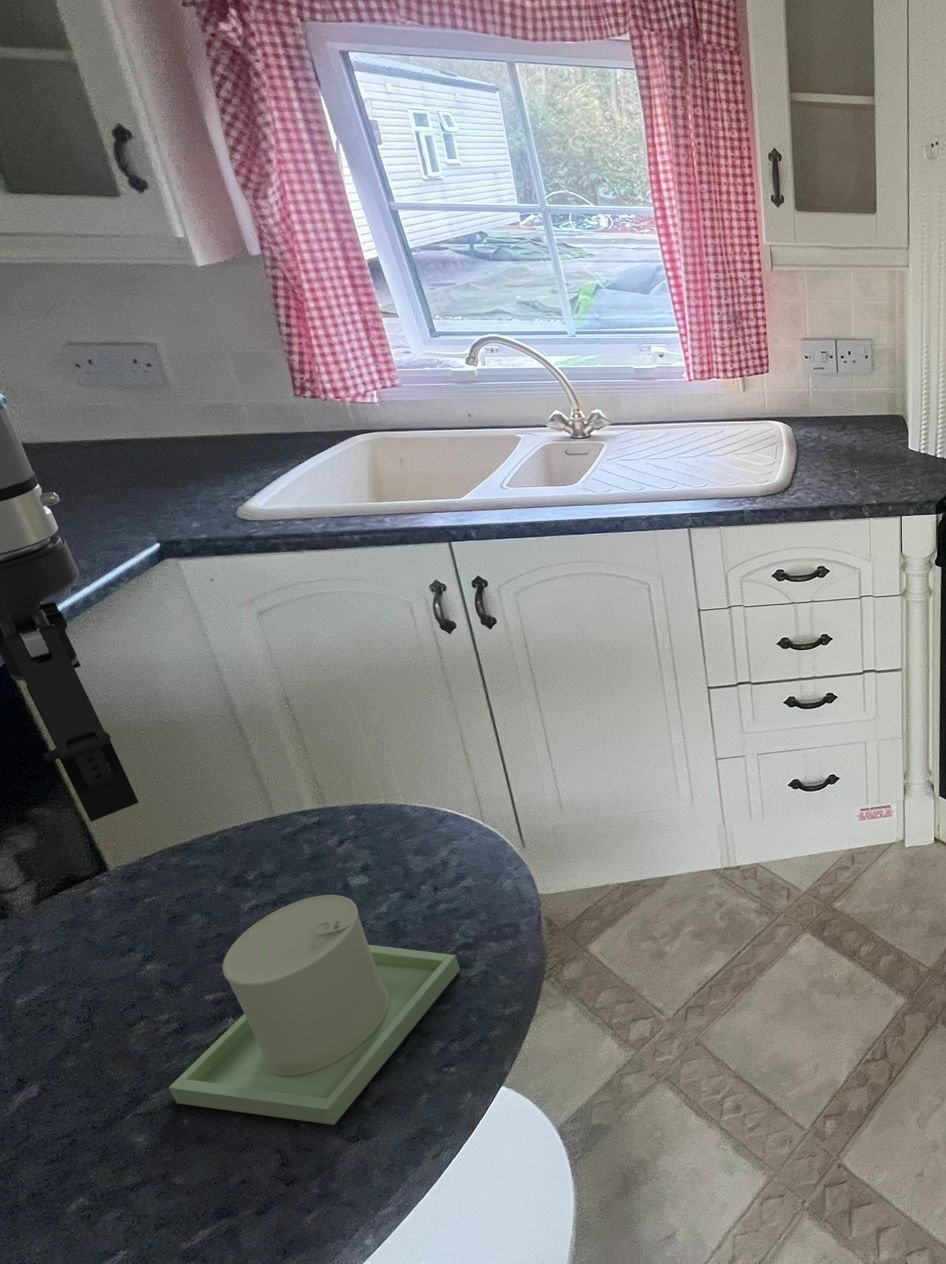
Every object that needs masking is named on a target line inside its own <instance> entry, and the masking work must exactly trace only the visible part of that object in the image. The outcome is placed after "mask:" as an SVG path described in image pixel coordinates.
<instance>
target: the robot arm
mask: <svg viewBox="0 0 946 1264" xmlns="http://www.w3.org/2000/svg"><path fill="white" fill-rule="evenodd" d="M42 491H43V489H42V487H41V486H40V484H39V480H38V478H37V475H36V472H35V471H34V470H33V469H32V466H31V463H30V462H29V459H28V456H27V454H26V452H25V449H24V446H23V445H22V442H21V440H20V437H19V434H18V432H17V429H16V426H15V423H14V421H13V418H12V415H11V412H10V410H9V407H8V398H7V396H6V395H5V393H4V392H3V391H2V390H1V389H0V656H1V659H2V660H3V662H4V664H5V667H6V669H7V671H8V673H9V675H10V676H11V678H12V679H13V680H15V681H20V682H25V684H26V685H25V688H26V689H27V691H28V694H29V696H30V697H31V700H32V702H33V704H34V705H35V708H36V710H37V712H38V714H39V716H40V719H41V720H42V722H43V724H44V726H45V728H46V730H47V732H48V734H49V736H50V738H51V740H52V742H53V744H54V748H53V749H52V750H50V751H47V752H44V753H42V755H43V757H44V759H45V761H46V763H51V762H54V761H56V760H58V759H59V762H60V763H61V765H62V768H63V769H64V771H65V773H66V775H67V777H68V779H69V781H70V783H71V785H72V787H73V789H74V791H75V793H76V795H77V797H78V800H79V801H80V803H81V806H82V807H83V810H84V811H85V813H86V816H87V818H88V820H89V821H90V823H92V822H94V821H97V820H99V819H101V818H104V817H106V816H109V815H111V814H114V813H116V812H119V811H121V810H124V809H127V808H129V807H132V806H134V805H137V804H138V803H140V802H139V800H138V797H137V795H136V793H135V791H134V789H133V787H132V785H131V783H130V781H129V778H128V776H127V774H126V771H125V768H124V767H123V765H122V763H121V760H120V758H119V756H118V754H117V752H116V749H115V748H114V746H113V743H112V741H111V739H112V738H111V735H110V733H109V732H107V730H105V729H104V727H103V725H102V723H101V721H100V719H99V716H98V715H97V713H96V711H95V708H94V706H93V704H92V702H91V700H90V698H89V696H88V694H87V692H86V690H85V688H84V686H83V683H82V681H81V680H80V678H79V677H80V676H79V675H78V673H77V671H76V668H80V667H82V665H81V664H80V661H79V658H78V655H77V652H76V651H75V648H74V646H73V644H72V643H71V640H70V638H69V636H68V633H69V631H70V630H69V627H68V623H67V621H66V619H65V617H64V615H63V613H62V612H61V610H59V608H58V605H57V603H56V602H55V600H53V601H49V602H44V603H42V602H43V601H44V600H45V599H48V598H49V597H51V596H53V595H58V594H60V593H63V592H64V591H65V590H67V589H69V588H70V587H72V586H73V585H74V584H75V583H77V581H78V579H79V578H80V577H79V576H80V570H79V569H78V566H77V564H76V562H75V559H74V557H73V554H72V553H71V550H70V548H69V546H68V544H67V541H66V539H65V538H64V537H62V536H59V535H57V534H55V533H56V532H57V531H58V530H59V526H58V524H57V521H56V519H55V517H54V513H53V512H52V510H51V509H50V508H49V506H53V505H56V504H58V503H59V502H60V497H59V495H58V494H57V493H55V492H54V491H47V492H42Z"/></svg>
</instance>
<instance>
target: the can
mask: <svg viewBox="0 0 946 1264" xmlns="http://www.w3.org/2000/svg"><path fill="white" fill-rule="evenodd" d="M369 945H370V944H369V943H368V940H367V937H366V934H365V930H364V928H363V925H362V922H361V918H360V916H359V909H358V906H357V905H356V904H355V902H354V901H353V900H352V899H350V898H349V897H346V896H342V895H338V894H324V895H323V894H322V895H316V896H312V897H307V898H304V899H301V900H298V901H295V902H292V903H290V904H287V905H285V906H283V907H281V908H278V909H277V910H274V911H273V912H271V913H269V914H268V915H266V916H264V917H263V918H261V919H259V920H258V921H256V923H254V924H253V925H251V926H250V927H249V928H248V929H246V930H245V931H244V932H243V933H242V934H241V935H240V936H239V937H238V938H236V940H235V941H234V942H233V944H232V945H231V946H230V948H229V949H228V950H227V953H226V955H225V957H224V958H223V962H222V974H223V976H224V978H225V979H226V980H227V982H228V983H229V985H230V988H231V990H232V991H233V993H234V996H235V997H236V1000H237V1001H238V1003H239V1006H240V1008H241V1010H242V1012H243V1014H245V1016H246V1018H247V1021H248V1023H249V1025H250V1027H251V1029H252V1032H253V1034H254V1036H255V1038H256V1041H257V1043H258V1045H259V1048H260V1050H261V1053H262V1060H263V1063H264V1065H265V1067H266V1068H267V1069H268V1070H269V1071H270V1072H272V1073H274V1074H277V1075H280V1076H299V1075H304V1074H308V1073H312V1072H315V1071H317V1070H320V1069H323V1068H325V1067H327V1066H329V1065H331V1064H333V1063H335V1062H337V1061H339V1060H340V1059H342V1058H344V1057H345V1056H347V1055H348V1054H350V1053H351V1052H353V1051H354V1050H355V1049H356V1048H358V1047H359V1046H360V1045H361V1044H362V1043H364V1042H365V1041H366V1040H367V1039H368V1038H369V1037H370V1036H371V1035H372V1034H373V1032H374V1031H375V1030H376V1029H377V1027H378V1026H379V1025H380V1023H381V1022H382V1020H383V1018H384V1017H385V1015H386V1012H387V1009H388V1006H389V993H388V990H387V989H386V987H385V986H384V985H383V983H382V980H381V978H380V975H379V973H378V970H377V968H376V965H375V962H374V959H373V956H372V954H371V951H370V948H369Z"/></svg>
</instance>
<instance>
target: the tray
mask: <svg viewBox="0 0 946 1264" xmlns="http://www.w3.org/2000/svg"><path fill="white" fill-rule="evenodd" d="M368 945H369V948H370V951H371V954H372V956H373V959H374V962H375V965H376V968H377V970H378V973H379V975H380V978H381V980H382V983H383V985H384V986H385V987H386V989H387V990H388V993H389V1006H388V1009H387V1012H386V1015H385V1017H384V1018H383V1020H382V1022H381V1023H380V1025H379V1026H378V1027H377V1029H376V1030H375V1031H374V1032H373V1034H372V1035H371V1036H370V1037H369V1038H368V1039H367V1040H366V1041H365V1042H364V1043H362V1044H361V1045H360V1046H359V1047H358V1048H356V1049H355V1050H354V1051H353V1052H351V1053H350V1054H348V1055H347V1056H345V1057H344V1058H342V1059H340V1060H339V1061H337V1062H335V1063H333V1064H331V1065H329V1066H327V1067H325V1068H323V1069H320V1070H317V1071H315V1072H312V1073H308V1074H304V1075H299V1076H280V1075H277V1074H274V1073H272V1072H270V1071H269V1070H268V1069H267V1068H266V1067H265V1065H264V1063H263V1060H262V1053H261V1050H260V1048H259V1045H258V1043H257V1041H256V1038H255V1036H254V1034H253V1032H252V1029H251V1027H250V1025H249V1023H248V1021H247V1018H246V1016H245V1014H244V1013H243V1014H242V1015H241V1016H240V1017H239V1018H238V1019H237V1020H236V1021H235V1022H234V1023H233V1024H232V1025H231V1026H230V1027H228V1029H227V1030H226V1031H225V1032H223V1034H222V1035H221V1036H219V1038H218V1039H217V1040H216V1041H214V1043H213V1044H211V1045H210V1046H209V1047H208V1048H207V1049H206V1050H205V1051H204V1052H203V1053H202V1054H201V1055H200V1056H199V1057H198V1058H197V1059H196V1060H195V1061H194V1062H193V1063H192V1064H191V1065H190V1066H189V1067H188V1068H187V1069H186V1070H185V1071H184V1072H183V1073H182V1074H180V1075H179V1076H178V1078H176V1080H175V1081H173V1082H172V1083H171V1084H170V1085H169V1087H168V1090H169V1092H170V1093H171V1096H172V1098H173V1099H174V1101H175V1103H176V1104H179V1105H186V1106H194V1107H201V1108H208V1109H215V1110H216V1109H217V1110H221V1111H222V1110H223V1111H229V1112H237V1113H243V1114H251V1115H257V1116H258V1115H259V1116H267V1117H274V1118H280V1119H287V1120H294V1121H295V1120H297V1121H303V1122H309V1123H310V1122H311V1123H317V1124H323V1125H324V1124H325V1125H331V1126H334V1125H336V1123H337V1122H338V1121H339V1120H340V1119H341V1118H342V1116H343V1115H344V1114H345V1112H346V1111H347V1110H348V1109H349V1108H350V1107H351V1105H352V1104H353V1103H354V1102H355V1100H356V1099H357V1098H358V1097H359V1096H360V1095H361V1093H362V1092H363V1090H364V1089H365V1088H366V1087H367V1085H368V1084H369V1083H370V1082H371V1080H372V1079H373V1078H374V1077H375V1075H377V1073H378V1072H379V1071H380V1070H381V1068H382V1067H383V1066H384V1064H385V1063H386V1062H387V1061H388V1059H390V1058H391V1056H392V1055H393V1053H394V1052H395V1051H396V1050H397V1049H398V1048H399V1046H400V1045H401V1044H402V1042H403V1041H404V1040H405V1039H406V1037H407V1036H408V1035H409V1034H410V1033H411V1031H412V1030H413V1029H414V1027H415V1026H416V1025H417V1024H418V1022H420V1020H421V1019H422V1017H423V1016H425V1014H426V1013H427V1011H428V1010H429V1009H430V1008H431V1007H432V1005H433V1004H434V1003H435V1002H436V1001H437V999H438V998H439V997H440V996H441V994H443V992H444V990H446V988H447V987H448V986H449V984H450V983H451V982H452V981H453V980H454V978H455V977H456V976H457V974H459V972H460V971H461V968H460V964H459V961H458V957H457V955H456V954H451V953H450V954H448V953H440V952H433V951H423V950H414V949H407V948H400V947H392V946H391V947H390V946H382V945H375V944H368Z"/></svg>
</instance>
